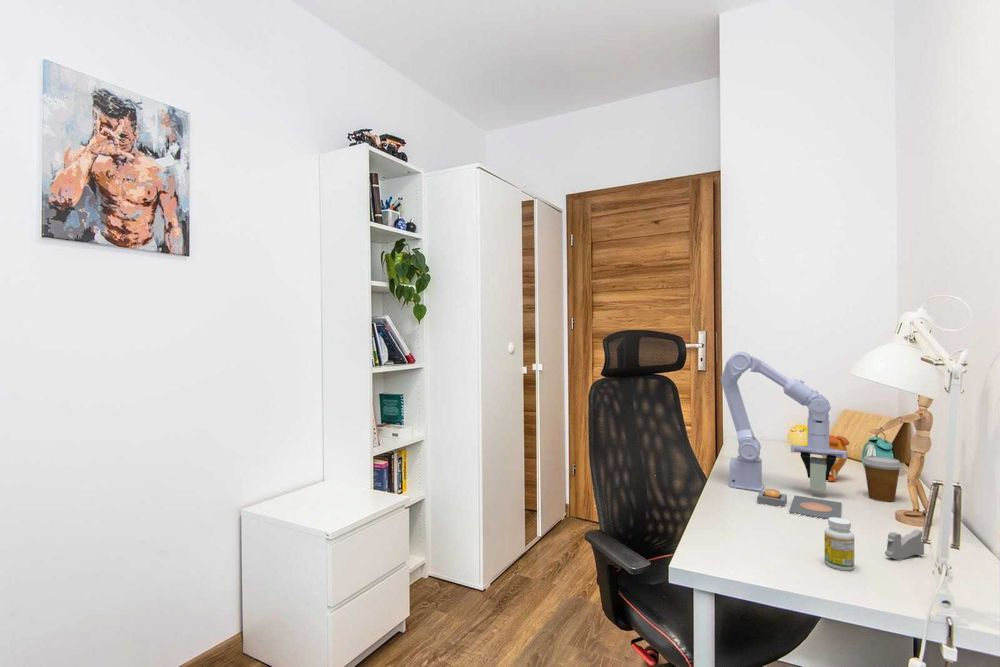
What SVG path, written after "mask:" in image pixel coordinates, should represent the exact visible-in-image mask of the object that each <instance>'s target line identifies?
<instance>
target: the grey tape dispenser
mask: <svg viewBox="0 0 1000 667" xmlns="http://www.w3.org/2000/svg"><path fill="white" fill-rule="evenodd" d="M922 531H923V530H920V529H914V530H913V531H911V532H910V533H908V534H906V535H904V536H902V534H900V533H898V532H894V531H893V532H889V533H887V540H886V541H887V545H886V550H885V551H884V555H885V556H886V557H889V558H891V559H893V560H895V561H896V560H898V561H901V559H902V560H906V559H908V558H910V557H912V556H917V555H918V557H920V556H921V555H924V556H925V542H924V543H923V542H922V541H921V537H922ZM921 557H922V556H921ZM904 558H905V559H904Z"/></svg>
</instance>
